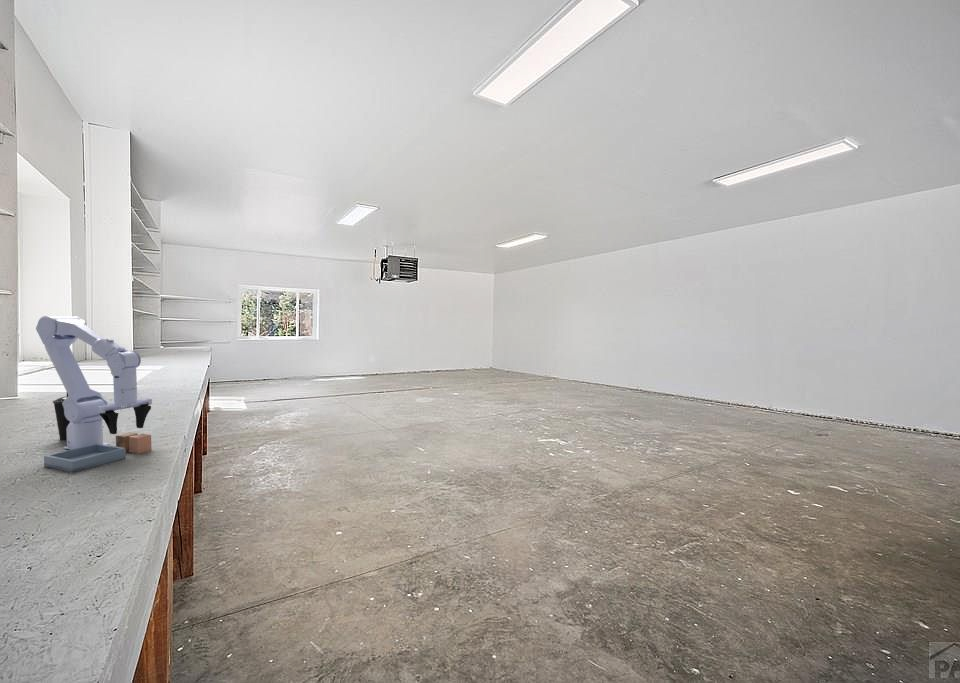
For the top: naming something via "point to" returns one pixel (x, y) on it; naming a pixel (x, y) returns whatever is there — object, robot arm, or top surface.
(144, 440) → the terracotta block
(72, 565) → the top surface
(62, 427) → the drinking cup
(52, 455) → the tray
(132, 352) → the robot arm
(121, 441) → the tan block
